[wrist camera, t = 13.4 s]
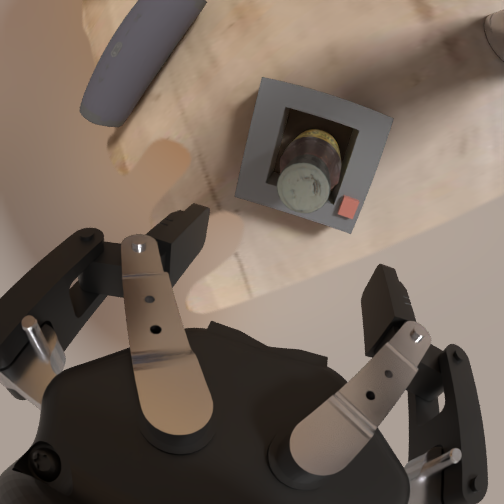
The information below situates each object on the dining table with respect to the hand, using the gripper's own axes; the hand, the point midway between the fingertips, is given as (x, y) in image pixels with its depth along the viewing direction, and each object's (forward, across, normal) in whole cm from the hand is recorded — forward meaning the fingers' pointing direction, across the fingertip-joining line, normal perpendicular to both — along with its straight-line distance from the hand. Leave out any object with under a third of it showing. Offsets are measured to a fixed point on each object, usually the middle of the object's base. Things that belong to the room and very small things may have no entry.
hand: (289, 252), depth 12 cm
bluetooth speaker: (+29, +27, -10) cm, 41 cm away
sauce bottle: (+29, 0, 0) cm, 29 cm away
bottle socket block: (+29, 0, 0) cm, 29 cm away
